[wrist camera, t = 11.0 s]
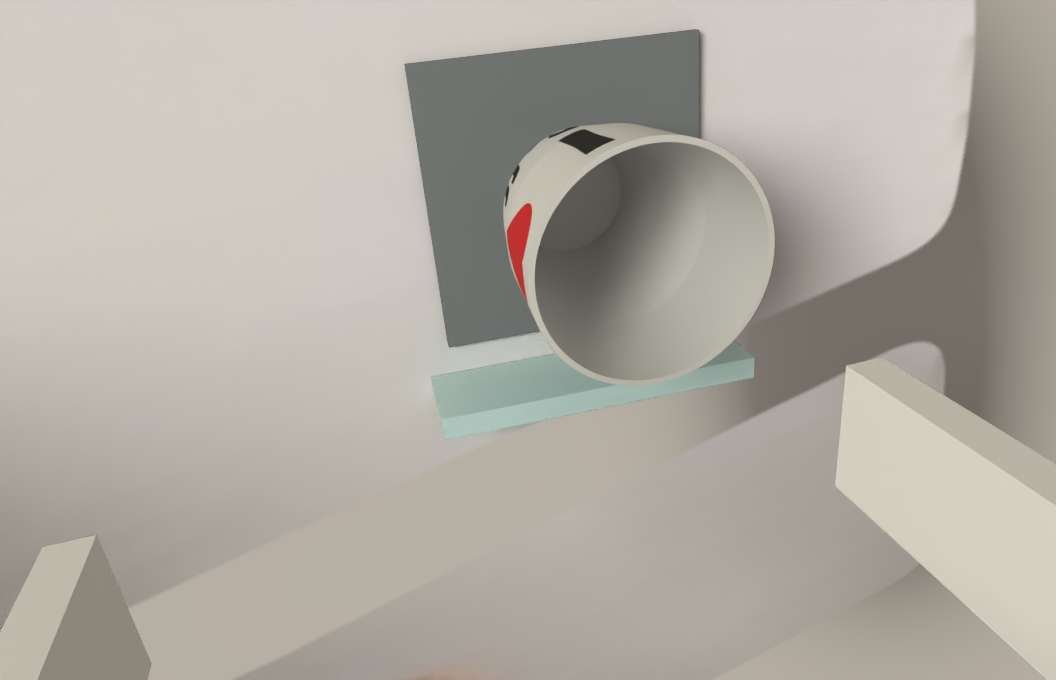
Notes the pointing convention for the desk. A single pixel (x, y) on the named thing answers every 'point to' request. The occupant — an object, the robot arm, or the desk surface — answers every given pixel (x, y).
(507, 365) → the wall
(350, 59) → the desk surface
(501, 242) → the mat
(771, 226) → the cup
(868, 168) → the desk surface
